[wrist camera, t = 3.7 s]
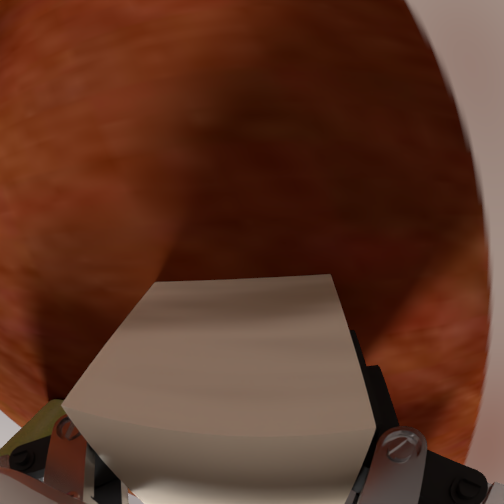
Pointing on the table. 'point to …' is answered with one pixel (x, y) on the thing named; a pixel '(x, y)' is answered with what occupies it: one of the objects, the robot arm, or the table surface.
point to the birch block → (230, 395)
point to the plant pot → (36, 426)
